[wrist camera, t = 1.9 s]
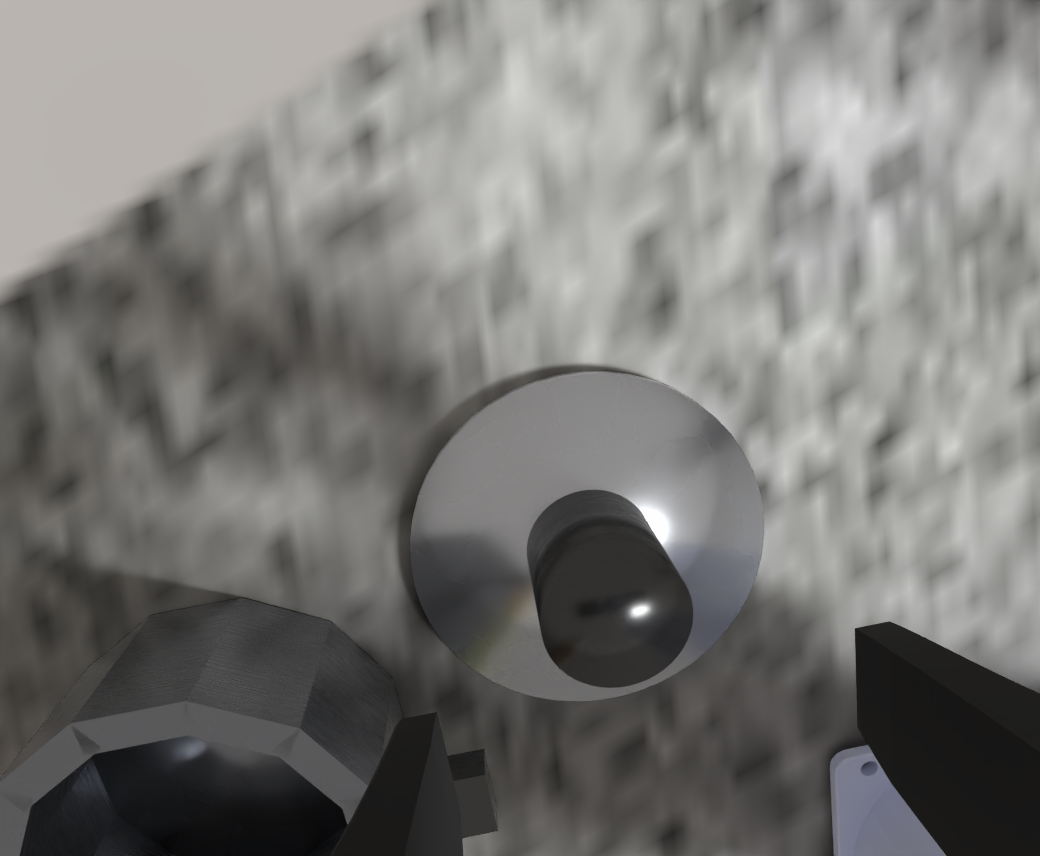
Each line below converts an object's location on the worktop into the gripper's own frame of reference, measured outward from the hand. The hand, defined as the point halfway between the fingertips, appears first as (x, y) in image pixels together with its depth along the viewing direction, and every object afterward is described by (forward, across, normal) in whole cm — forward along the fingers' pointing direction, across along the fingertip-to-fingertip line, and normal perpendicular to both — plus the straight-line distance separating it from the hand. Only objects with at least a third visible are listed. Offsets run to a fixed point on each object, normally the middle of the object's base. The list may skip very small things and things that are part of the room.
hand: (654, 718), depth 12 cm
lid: (+7, 0, 0) cm, 7 cm away
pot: (+7, +10, +4) cm, 13 cm away
